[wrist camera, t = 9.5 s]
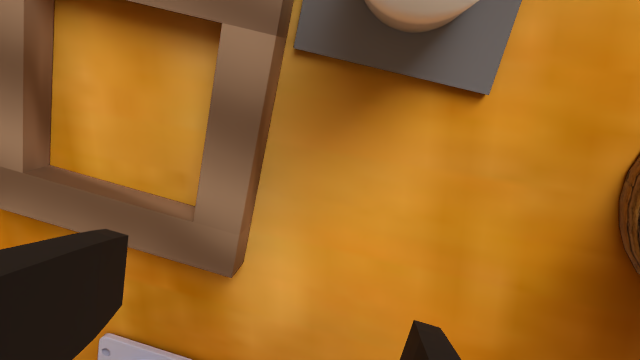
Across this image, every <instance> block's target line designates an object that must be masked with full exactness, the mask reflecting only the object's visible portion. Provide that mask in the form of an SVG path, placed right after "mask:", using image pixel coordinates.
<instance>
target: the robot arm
mask: <svg viewBox="0 0 640 360" xmlns="http://www.w3.org/2000/svg"><path fill="white" fill-rule="evenodd" d="M128 236H129V235H126V234H122V233H119V232H116V231H112V230H109V229H100V230H92V231H87V232H81V233H76V234H71V235H67V236H62V237H57V238H53V239H48V240H43V241H39V242H34V243H30V244H25V245H20V246H16V247H11V248H6V249H1V250H0V360H72V359H73V358H74V357H76V356H77V355H78V354H79V353H80V352H81V351H82V350H83V349H84V348H85V347H86V346H87V345H88V344H89V343H90V342H91V341H92V340H93V339H94V338H95V337H96V336H97V335H98V334H99V332H100V331H101V330H102V329H103V328H104V327H105V325H106V324H107V323H108V322H109V321H110V319H111V318H112V317H113V316H114V314H115V313H116V312H117V311H118V309H119V308H120V307H121V306H122V299H123V289H124V278H125V268H126V257H127V247H128ZM98 360H192V359H189V358H186V357H182V356H179V355H176V354H173V353H170V352H167V351H164V350H161V349H158V348H155V347H151V346H148V345H145V344H142V343H139V342H136V341H133V340H130V339H127V338H124V337H120V336H117V335H114V334H111V333H107V334H105V335H104V336H103V337H102V338H101V339H100V340H99V348H98ZM400 360H461V359H460V357H459V356H458V354H457V352H456V351H455V349H454V348H453V346H452V345H451V343H450V342H449V340H448V339H447V337H446V336H445V334H444V333H443V331H442V330H441V328H439V327H436V326H432V325H429V324H426V323H422V322H419V321H415V320H414V321H413V324H412V327H411V330H410V333H409V335H408V338H407V341H406V344H405V347H404V350H403V353H402V355H401V358H400Z"/></svg>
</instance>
